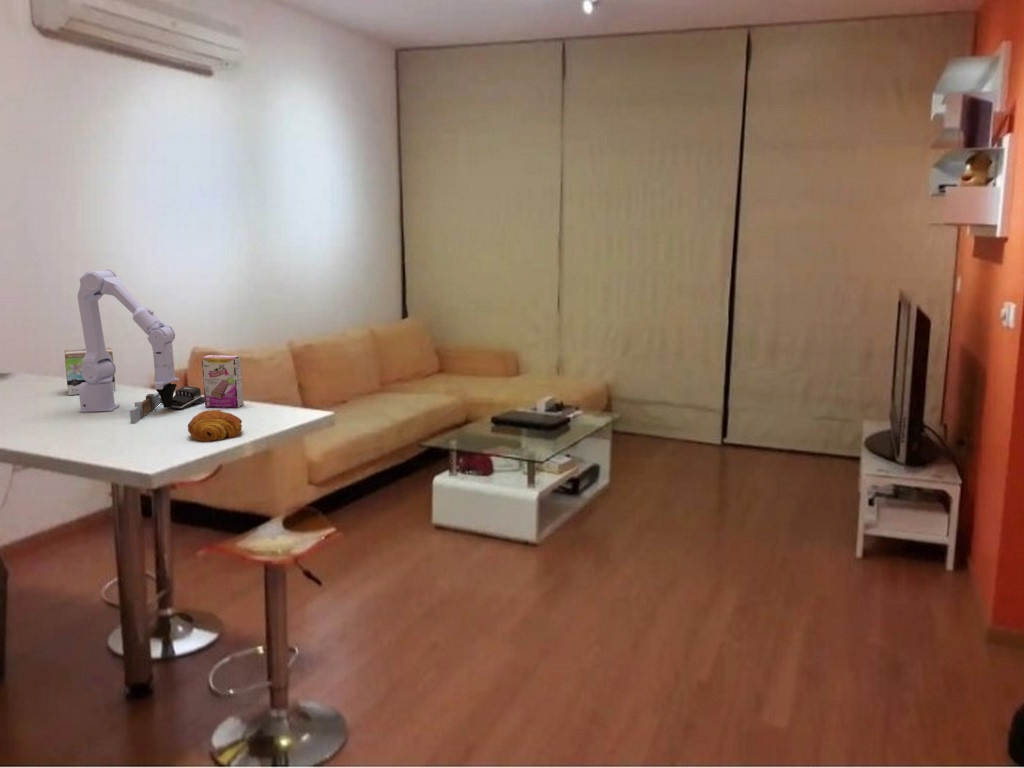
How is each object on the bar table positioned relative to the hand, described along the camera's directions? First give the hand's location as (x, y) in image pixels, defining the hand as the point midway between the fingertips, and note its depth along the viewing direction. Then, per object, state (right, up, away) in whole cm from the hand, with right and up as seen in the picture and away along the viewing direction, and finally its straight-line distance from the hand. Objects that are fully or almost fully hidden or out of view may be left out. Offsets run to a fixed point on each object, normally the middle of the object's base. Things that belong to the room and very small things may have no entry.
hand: (167, 407), depth 270 cm
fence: (-5, -2, -4) cm, 7 cm away
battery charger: (+1, +1, +1) cm, 2 cm away
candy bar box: (+16, 0, +6) cm, 17 cm away
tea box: (-39, +5, +31) cm, 50 cm away
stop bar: (-1, +1, +11) cm, 11 cm away
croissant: (+25, -7, -30) cm, 40 cm away
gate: (-5, -1, -4) cm, 7 cm away
